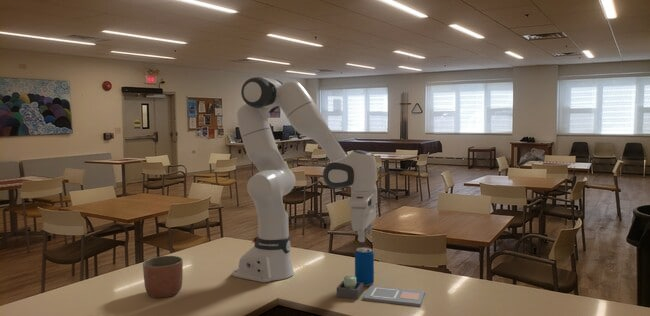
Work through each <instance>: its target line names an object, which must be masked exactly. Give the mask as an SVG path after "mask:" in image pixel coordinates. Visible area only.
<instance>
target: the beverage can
mask: <svg viewBox="0 0 650 316" xmlns="http://www.w3.org/2000/svg"><path fill="white" fill-rule="evenodd" d="M355 250H356V251H354V276H355V277H356V282H361V283H363V287H370V286H372V284H373V283H374V282H375V272H374V271H375V267H374V266H375V261H374V260H375V253H374V251H373V248H371V247H366V246H363V247H362V246H361V247H357V248H356V249H355Z"/></svg>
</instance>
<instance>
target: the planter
mask: <svg viewBox="0 0 650 316" xmlns="http://www.w3.org/2000/svg"><path fill="white" fill-rule="evenodd" d="M183 264H184V263H183V258H182V257H181V256H177V255H161V256H160V255H159V256H155V257H151V258H148V259H146V260H145V261H143V262H142V270H143V282H144V288H145V292H146V293H147V295H148V296H150V297H153V298H157V299H159V298H162V297H163V298H168V297H172V296H175V295H177V294H178V293H179V292H180V291H181V289H182V286H183V277H184V275H183V272H184V271H183V270H184V269H183V267H184V266H183Z"/></svg>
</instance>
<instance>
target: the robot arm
mask: <svg viewBox="0 0 650 316" xmlns="http://www.w3.org/2000/svg"><path fill="white" fill-rule="evenodd" d="M240 94H241V97H242V100H243V101H244V102H245V104H243V105H242V106H240V107H239V108H238V110H237V112H236V117H237V118H236V119H237V124H238V129H239V133H240V137H241V140H242V143H243V147H244V149H245V152H246V156H247V158H248V159H249V161H251V162H252V164H254V167H256V168H257V169H256V170H257V171H258V172H256V173H255V174H254V175H252V176H251V177H250V178H249V179H248V182H247V185H246V190H247V191H246V192H247V194H248V195H249V197H250V198H251V199H252V201H253V204H254V207H255V210H256V214H257V215H256V216H257V230H258V231H257V236H256V237H254V239H251V241H252V242H251V243H252V244H253V243H254V245H253V246H252V247H251V248H250V249H249V250H248V251H246V252H245V253H244V254H243V255H242V256H241V257H240V259H239V262H238V267H236V268H235V269H234V270H233V271H232V277H235V278H240V279H244V280H250V281H254V282H259V283H269V282H272V281H279V280H280V281H281V280H285V279H288V278H290V277H293V275H294V274H295V271H294V269H293V264H292V258H291V253H290V251H291V235H290V231H289V230H290V228H289V214H288V212H287V211H286V209H285V206H284V202H283V197H284V196H286V195H288V194H289V193H291V191H292V190H293V189H294V188H295V185H296V183H297V182H296V179H297V178H296V175H295V173H294V172H293V170H291V169H290V168H289V167H288V165H287V163H286V162H285V160H284V158H283V157H282V155H281V153H280V151H279V149H278V145H277V143H276V140H275V137H274V134H273V131H272V128H271V125H270V122H269V117H268V116H269V115H268V114H269V113H270V114H272V113H273V112H275V111H276V110H277V109H278V108H280V109H281V110H282V111H283V113H284V115H285V117H286V118H287V120H288V122H289V123H290V125H291V127H293V129H294V130H295V131H296V132H297V133H298V134H300V135H301V136H304V137H307V138H309V139H311V140H313V141H315V142H316V143H317V144H318V145H319V146H320V148H321V150H322V151H323V152H324V154H325V155H326V157H327V158H328V160H329V161H330V163H328V164H326V166H325V167H324V169H323V172H322V179H323V181H324V182H325V184H326V186H328V187H329V188H330V189H335V190H337V189H338V190H340V189H343V188H347V187H349V188H350V193H351V194H350V199H349V201H348V207H349V208H350V221H351V222H350V223H351V229H352V230H353V231H354V232H356V233H357V235H358V242H359V243H364V242H365V240H366V236H371V235H372V230H373V229H372V228H373V222H374V221H375V220H376V219H377V207H376V204H378V187H377V178H378V172H377V171H378V170H377V160H376V157H375V155H374V154H373V153H372V152H370V151H368V150H367V151H366V150H359V149H357V150H353V151H352V152H350V153H349V154H348V153H346V151H345V150H344V148H343V146H342V145H341V143H340V142H339V140H338V139H337V137H336V136H335V134H334V133H333V131H332V130H331V128H329V125H328V124H327V122H326V120H325V119H324V116H323V115H322V112H321V111H320V109H319V107H318V106H317V104H316V102H315V100H314V99H313V98H312V96H311V95H310V93H309V92H308V90H307V89H306V87H304V86H303V84H301V83H300V82H299V81H297V80H288V81H286V82H282V81H280V80H278V79H275V78H272V77H267V76H266V77H260V76H254V77H251V78H249V79H247V80H245V82H244V83H243V84H242V86H241V92H240ZM365 235H366V236H365Z"/></svg>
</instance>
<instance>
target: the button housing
mask: <svg viewBox="0 0 650 316" xmlns="http://www.w3.org/2000/svg"><path fill="white" fill-rule="evenodd" d="M363 293H364V286H363V283H361V282H356V289H351V288H344V280H342V281H341V282H340V284H338V285H337V287H336V297H337V298H342V299H351V300H352V299H353V300H359V298H360V297H361V296H362V294H363Z"/></svg>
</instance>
